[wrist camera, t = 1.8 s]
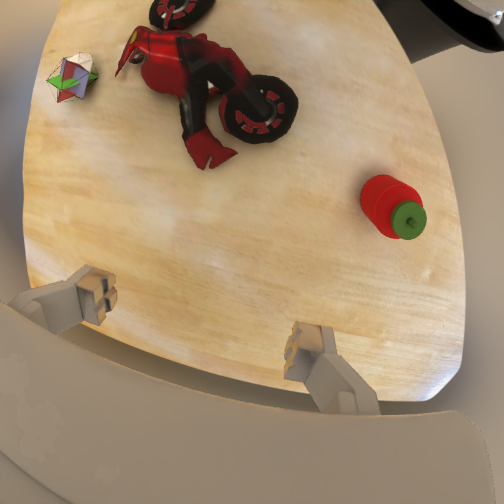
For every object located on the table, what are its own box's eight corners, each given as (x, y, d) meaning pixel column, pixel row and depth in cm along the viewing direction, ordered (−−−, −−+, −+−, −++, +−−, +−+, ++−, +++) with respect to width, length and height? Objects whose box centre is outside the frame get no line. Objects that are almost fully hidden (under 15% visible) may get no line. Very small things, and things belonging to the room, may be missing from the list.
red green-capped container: (384, 164, 28) (421, 180, 19) (411, 200, 30) (450, 227, 21) (350, 197, 31) (374, 225, 22) (379, 231, 32) (408, 267, 23)
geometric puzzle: (74, 121, 27) (57, 88, 20) (50, 102, 26) (32, 71, 18) (110, 86, 29) (102, 49, 21) (84, 70, 28) (74, 36, 20)
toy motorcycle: (200, -17, 21) (98, 47, 23) (195, -37, 16) (80, 37, 19) (304, 123, 29) (189, 190, 32) (315, 120, 24) (180, 199, 27)
